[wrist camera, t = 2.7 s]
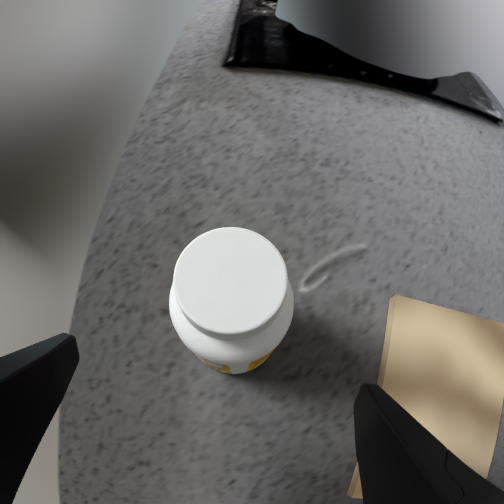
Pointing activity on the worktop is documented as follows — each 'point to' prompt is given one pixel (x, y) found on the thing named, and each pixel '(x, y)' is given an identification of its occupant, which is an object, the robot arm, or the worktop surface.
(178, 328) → the supplement bottle
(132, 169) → the worktop surface
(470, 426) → the oak board
